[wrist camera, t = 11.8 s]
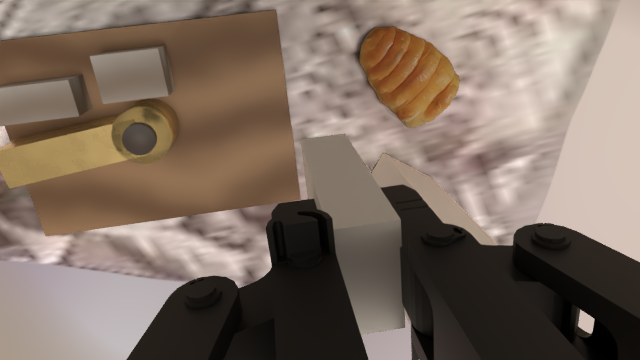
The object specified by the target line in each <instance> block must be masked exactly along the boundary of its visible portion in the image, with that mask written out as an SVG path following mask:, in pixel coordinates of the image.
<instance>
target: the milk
mask: <svg viewBox="0 0 640 360" xmlns="http://www.w3.org/2000/svg"><path fill="white" fill-rule="evenodd" d="M371 175H372V176H373V178H374V179H375V181H376V182H377V184H378V185H379V187H380V188H381V187H388V186H395V185H402V184H403V185H405V186H408V187H410V188H412V189H414V190H416V191H417V192H418V193H419V195H420V196H421V197H422V198H423V200H424V201H425V202H426V203H427V204H428V207H430V208H431V209H432V210H433V211H434V213H435V214H436V215H437V216H438V217H439V219H440V220H441V221H442V222H443V223H446V224H453V225H456V226H459V227H462V228H464V229H465V230H467V231H468V232H470V233H471V234H472V235H473V236H474V238H475V239H476V240H477V241H478V242H479V243H480V244H482V245H498V244H497V243H496V242H495V241H494V240H493V239H492V238H491V237H490V236H489V235H488V234H487V233H486V232H485V231H484V230H483V229H482V228H481V227H480V226H479V225H478V224H477V223H476V222H475V221H474V220H473V219H472V218H471V217H470V216H469V215H468V214H467V213H466V212H465V211H464V210H463V209H462V208H461V207H460V206H459V205H458V204H457V203H456V202H455V201H454V200H453V199H452V198H451V197H450V196H449V195H448V194H447V193H446V192H445V191H444V190H443V188H442V187H441V186H440V185H439V184H438V183H437V182H436V181H435V180H434V179H433V178H431V177H429V176H427V175H425V174H424V173H422V172H420V171H418V170H416V169H414V168H412V167H410V166H408V165H406V164H404V163H402V162H401V161H399V160H397V159H395V158H393V157H391V156H389V155H387V154H385V153H383V155H382V156H381V158H380V160H379V161H378V163H377V164H376V166H375V168H374V169H373V171H372V173H371ZM404 313H405V315H406V317H407V320H408V322H409V324H410V326H411V321H410V319H409V316H408V314H407V312H406V310H405V308H404Z"/></svg>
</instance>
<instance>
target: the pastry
mask: <svg viewBox="0 0 640 360" xmlns="http://www.w3.org/2000/svg"><path fill="white" fill-rule="evenodd" d="M360 64H361V66H362V67H363V69H364V71H365V73H366V75H367V78H368V82H369V83H370V85H371V86H372V88H373V89H374V90H375V92H376V93H377V96H378V99H379V101H380V102H381V103H382V104H384V105H386V106H388V107H389V108H390V109H391V111H393V112H394V113H395V114H396V115H397V117H398V118H399V119H400V120H403V121H404V123H405V125H406V126H407V127H410V128H415V127H417V126H422V125H424V124H425V123H426V122H430V121H432V120H433V119H435V118H436V117H437V116H438V115H439V114H441V113H442V112H443V111H444V110H445V109H446V108H447V107H448V106H449V105H450V103H451V101H452V99H453V98H454V97H455V96H456V94H457V91H458V88H459V81H460V79H459V76H458V75H457V74H456V73H455V71H454V69H453V66H452V64H451V63H450V61H449V59H448V58H447V57H446V56H444V55H443V54H442V53H440V51H438V50H437V49H436V48H435V47H434V45H433V44H431V43H429V42H426V41H425V40H423V39H421V38H418V37H416V36H414V35H412V34H409V33H407V32H405V31H402V30H400V29H397V28H396V27H377V28H374V29H373V30H371V31H370V32H369V33H368V34H367V36H366V37H365V39H364V41H363V43H362V45H361V51H360Z"/></svg>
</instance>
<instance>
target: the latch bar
mask: <svg viewBox="0 0 640 360" xmlns="http://www.w3.org/2000/svg"><path fill="white" fill-rule="evenodd" d="M137 122H142V123H146V124H148V125H150V126H151V127H152V128H153V129H154V130H155V132H156V135H157V143H156V145H155V147H154V148H153V149H152V151H151V152H149V153H148V154H145V155H134V154H132V153H130V152H129V151H127V150H126V148H125V147H124V145H123V143H122V134H123V132H124V131H125V129H126V128H127V127H129V126H130V125H131V124H133V123H137ZM178 132H179V121H178V118H177V115H176V114H175V112H174V111H173V109H172V108H171V107H170V106H168V105H167V104H166V103H164V102H162V101H159V100H156V99H144V100H140V101H138V102H136V103H135V104H133V105H132V106H131V107H130V108H128V109H127V110H126V111H125V112H123V113H122V114H117V115H113V116H109V117H105V118H101V119H96V120H92V121H88V122H84V123H80V124H75V125H71V126H67V127H63V128H59V129H54V130H50V131H46V132H42V133H37V134H33V135H29V136H25V137H21V138H17V139H15V140H13V141H11V142H10V143H8V144H6V145H4V146H2V147H1V148H0V171H1V173H2V175H3V177H4V179H5V181H6V183H7V185H8V186H9V188H13V187H17V186H22V185H26V184H30V183H34V182H38V181H42V180H46V179H51V178H55V177H59V176H63V175H67V174H71V173H75V172H80V171H84V170H88V169H92V168H96V167H100V166H104V165H108V164H113V163H117V162H121V161H125V160H130V161H132V162H135V163H139V164H149V163H153V162H156V161H158V160H159V159H161V158H162V157H163V156H164V155H165V154H166V153H167V151H168V150H169V148H170V146H171V145H172V143H173V142H174V140H175V138H176V137H177V135H178Z"/></svg>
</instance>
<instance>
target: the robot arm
mask: <svg viewBox="0 0 640 360" xmlns="http://www.w3.org/2000/svg"><path fill="white" fill-rule="evenodd" d="M301 145H302V153H303V162H304V170H305V178H306V186H307V194H308V199H307V200H301V201H294V202H287V203H280V204H278V205H277V206H276V208H275V209H274V210H273V212H272V219H271V220H270V221H269V222H268V224H267V226H266V233H267V239H268V245H269V251H270V257H271V263H272V268H271V270H270V271H269V272H268V273H267V274H266V275H265V276H264V277H262V278H261V279H259V280H258V281H256V282H254V283H251V284H249V285H247V286H244V287H241V288H238V287H237V285H236V284H235V282H234V281H233V280H231V279H229V278H227V277H221V276H209V277H201V278H197V279H194V280H192V281H189V282H187V283H186V284H184V285H182V286H181V287H179V288H177V290H175V291H174V292H173V293H172V294H171V295H170V297H169V298H168V299H167V301H166V302H165V304H164V305H163V307H162V308H161V310H160V311H159V313H158V314H157V315H156V317H155V318H154V320H153V321H152V323H151V324H150V326H149V327H148V329H147V330H146V332H145V333H144V335H143V336H142V338H141V339H140V341H139V342H138V344H137V345H136V347H135V348H134V349H133V351H132V352H131V354H130V355H129V357H128V358H127V360H368V357H367V353H366V350H365V347H364V344H363V340H362V337H361V335H363V334H369V333H375V332H381V331H387V330H393V329H399V328H404V327H405V313H404V308H405V310H406V312H407V314H408V316H409V319H410V321H411V344H412V345H411V346H412V360H419V359H420V360H640V262H638V261H636V260H634V259H632V258H630V257H627V256H626V255H624V254H622V253H620V252H617V251H615V250H613V249H611V248H609V247H607V246H605V245H603V244H601V243H599V242H597V241H595V240H593V239H591V238H589V237H587V236H585V235H583V234H581V233H579V232H577V231H574V230H572V229H569V228H566V227H563V226H558V225H554V224H550V223H545V224H543V223H537V224H533V225H527V226H524V227H522V228H520V229H518V230H517V231H516V233H515V234H514V240H513V246H503V245H482V244H480V243H479V242H478V241H477V240H476V239H475V238H474V236H473V235H472V234H471V233H470V232H468V231H467V230H465V229H464V228H462V227H459V226H456V225H453V224H446V223H443V222H442V221H441V220H440V219H439V217H438V216H437V215H436V214H435V213H434V211H433V210H432V209H431V208H430V207H428V204H427V203H426V202H425V201H424V200H423V198H422V197H421V196H420V195H419V193H418V192H417V191H416V190H414V189H412V188H410V187H408V186H405V185H403V184H402V185H395V186H388V187H381V188H380V187H379V185H378V184H377V182H376V181H375V179H374V178H373V176H372V175H371V173H370V172H369V170H368V168H367V167H366V165H365V164H364V162H363V161H362V159H361V158H360V156H359V155H358V153H357V152H356V150H355V148H354V147H353V145H352V144H351V142H350V141H349V139H348V138H347V136H346V135H345V134H339V135H331V136H324V137H316V138H309V139H301ZM580 309H581V310H582V311H584V312H586V313H587V314H588V315H590V316H591V317H593V318H594V319H595V321H594V328H593V332H592V334H589V333H587V332H585V331H584V330H582V329H581V328H579V327H578V321H579V314H580Z"/></svg>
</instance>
